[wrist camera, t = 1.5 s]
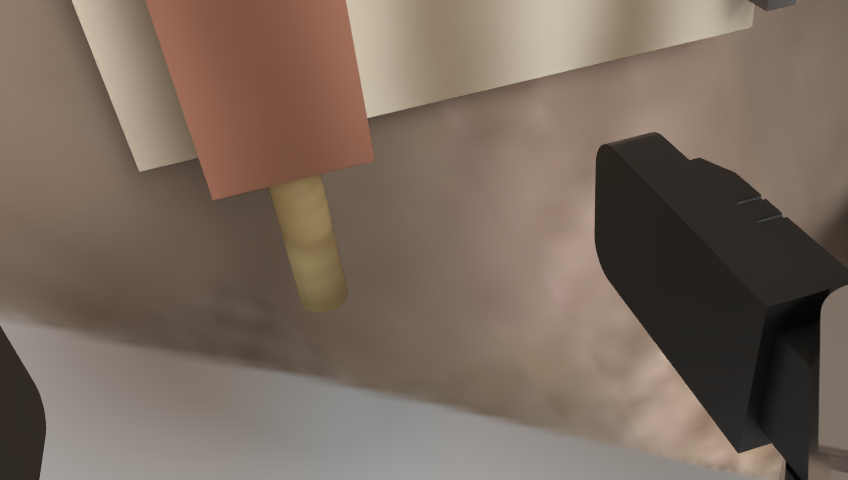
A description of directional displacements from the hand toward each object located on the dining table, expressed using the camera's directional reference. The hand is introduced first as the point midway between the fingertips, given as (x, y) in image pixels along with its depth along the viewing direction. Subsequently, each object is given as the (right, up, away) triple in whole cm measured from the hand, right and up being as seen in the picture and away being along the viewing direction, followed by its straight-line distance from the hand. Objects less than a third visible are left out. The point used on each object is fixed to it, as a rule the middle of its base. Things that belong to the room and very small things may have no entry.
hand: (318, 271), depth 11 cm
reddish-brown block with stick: (-3, +6, +13) cm, 15 cm away
